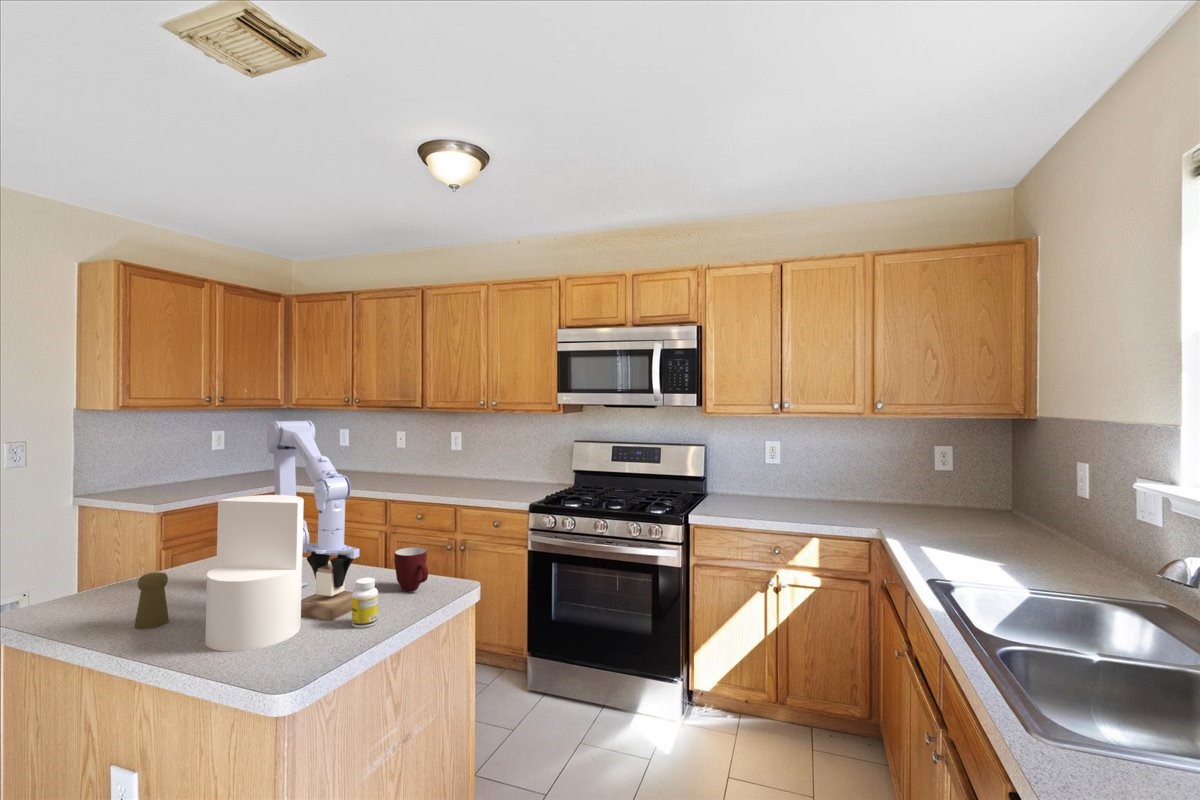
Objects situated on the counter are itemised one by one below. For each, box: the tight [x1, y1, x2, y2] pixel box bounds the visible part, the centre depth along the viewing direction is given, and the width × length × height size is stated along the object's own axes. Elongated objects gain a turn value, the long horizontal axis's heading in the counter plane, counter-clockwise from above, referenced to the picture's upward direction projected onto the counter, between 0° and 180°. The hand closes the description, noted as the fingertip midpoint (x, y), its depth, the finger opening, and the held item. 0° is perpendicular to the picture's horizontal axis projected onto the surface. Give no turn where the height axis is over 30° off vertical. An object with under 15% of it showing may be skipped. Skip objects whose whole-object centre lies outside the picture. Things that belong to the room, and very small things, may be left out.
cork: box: [134, 571, 170, 630], centre depth 124 cm, size 6×6×11 cm
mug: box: [393, 547, 429, 592], centre depth 150 cm, size 10×8×10 cm
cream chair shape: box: [204, 494, 305, 652], centre depth 120 cm, size 17×17×28 cm
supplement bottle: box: [351, 577, 379, 629], centre depth 127 cm, size 5×5×10 cm
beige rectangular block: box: [315, 563, 346, 596], centre depth 134 cm, size 4×4×6 cm
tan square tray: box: [301, 590, 354, 622], centre depth 134 cm, size 10×10×3 cm
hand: (330, 585), depth 134 cm, fingers closed on beige rectangular block, 4 cm apart
